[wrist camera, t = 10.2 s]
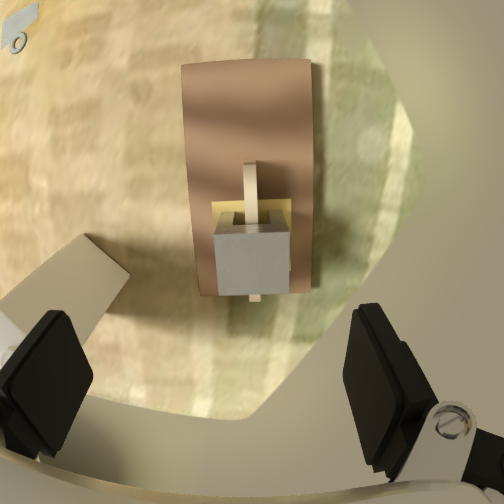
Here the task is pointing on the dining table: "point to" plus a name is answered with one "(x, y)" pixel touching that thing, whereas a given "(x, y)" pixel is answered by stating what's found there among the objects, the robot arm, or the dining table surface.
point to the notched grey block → (252, 256)
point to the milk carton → (62, 293)
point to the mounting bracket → (18, 27)
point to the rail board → (249, 155)
